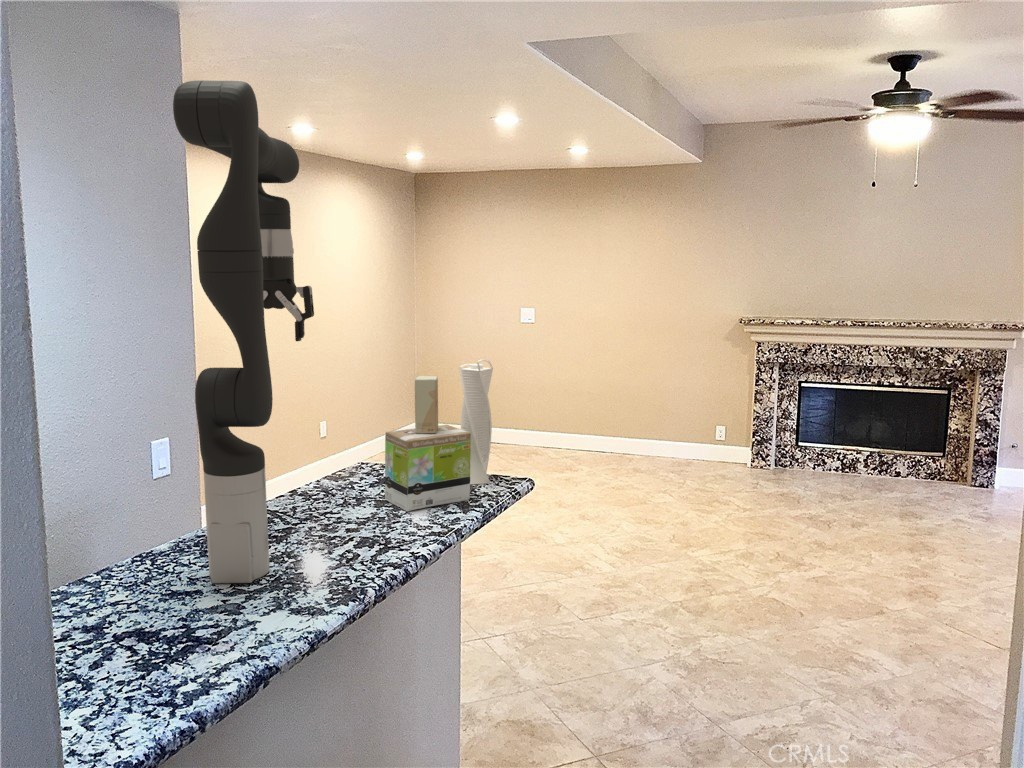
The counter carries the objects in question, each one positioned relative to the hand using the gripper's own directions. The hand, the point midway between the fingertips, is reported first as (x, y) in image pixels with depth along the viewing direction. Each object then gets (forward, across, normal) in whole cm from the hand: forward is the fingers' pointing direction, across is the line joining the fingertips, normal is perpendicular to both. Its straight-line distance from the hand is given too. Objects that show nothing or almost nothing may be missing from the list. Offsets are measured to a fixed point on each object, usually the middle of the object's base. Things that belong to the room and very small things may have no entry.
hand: (275, 340), depth 158 cm
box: (+20, +28, +8) cm, 35 cm away
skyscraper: (+34, +38, +22) cm, 56 cm away
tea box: (+34, +28, +8) cm, 45 cm away
